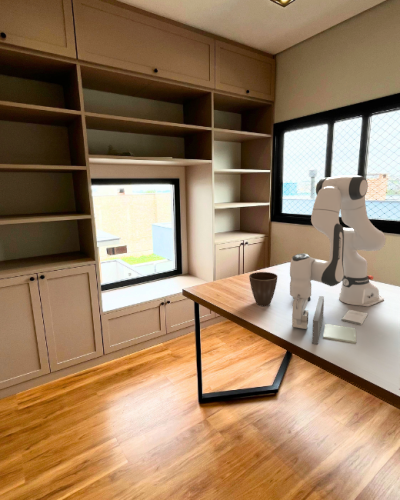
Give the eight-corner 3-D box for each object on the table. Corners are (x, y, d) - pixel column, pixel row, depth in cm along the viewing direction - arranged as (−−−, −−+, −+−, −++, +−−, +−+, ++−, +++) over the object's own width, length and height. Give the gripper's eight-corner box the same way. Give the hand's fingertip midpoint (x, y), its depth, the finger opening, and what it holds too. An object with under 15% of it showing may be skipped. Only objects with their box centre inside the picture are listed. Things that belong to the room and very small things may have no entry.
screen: (318, 315, 140) (319, 296, 138) (323, 316, 140) (323, 296, 138) (312, 343, 116) (312, 320, 114) (317, 344, 115) (318, 321, 113)
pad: (325, 325, 130) (325, 323, 130) (355, 329, 125) (355, 328, 125) (322, 338, 120) (323, 336, 120) (355, 343, 114) (355, 341, 114)
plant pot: (277, 299, 164) (277, 272, 160) (277, 310, 150) (277, 280, 146) (251, 298, 168) (250, 271, 164) (248, 308, 154) (247, 279, 150)
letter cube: (294, 320, 134) (294, 308, 132) (308, 322, 131) (308, 310, 130) (292, 326, 128) (292, 313, 127) (306, 328, 126) (306, 315, 124)
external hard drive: (341, 321, 134) (348, 312, 143) (361, 326, 129) (367, 316, 138) (341, 318, 134) (348, 309, 143) (361, 322, 128) (367, 312, 138)
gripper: (304, 300, 116) (304, 332, 119) (310, 284, 134) (310, 312, 136) (288, 298, 119) (288, 329, 122) (296, 283, 136) (296, 310, 139)
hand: (300, 320), depth 129 cm, fingers closed on letter cube, 6 cm apart
